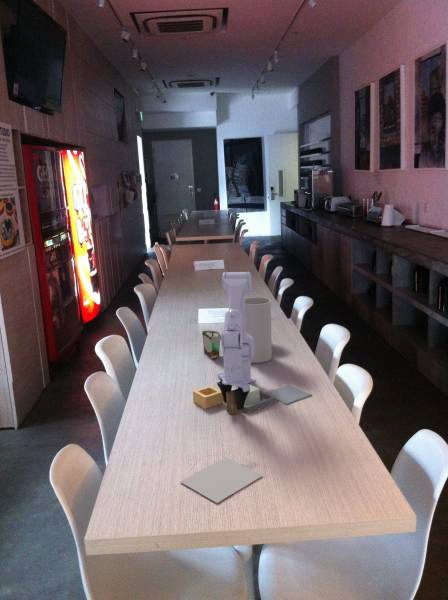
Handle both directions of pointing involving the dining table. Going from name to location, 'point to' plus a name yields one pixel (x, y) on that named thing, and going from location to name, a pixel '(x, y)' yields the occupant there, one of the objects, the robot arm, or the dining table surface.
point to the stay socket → (207, 397)
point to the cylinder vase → (259, 327)
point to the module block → (252, 396)
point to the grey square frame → (268, 401)
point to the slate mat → (288, 394)
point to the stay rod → (231, 403)
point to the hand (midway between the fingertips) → (233, 405)
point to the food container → (211, 344)
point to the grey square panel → (221, 479)
